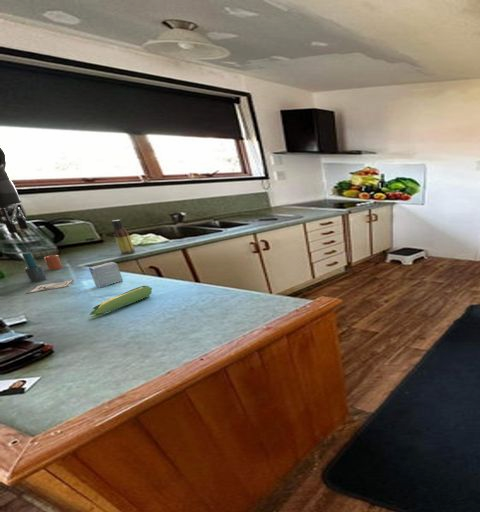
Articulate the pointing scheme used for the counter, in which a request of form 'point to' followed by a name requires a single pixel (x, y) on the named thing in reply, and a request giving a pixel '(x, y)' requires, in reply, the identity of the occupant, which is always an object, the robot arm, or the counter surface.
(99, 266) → the medicine box
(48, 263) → the pen cup
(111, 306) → the edible corn
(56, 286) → the beige cloth
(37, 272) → the stand
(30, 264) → the marker
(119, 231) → the sauce bottle
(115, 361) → the counter surface
